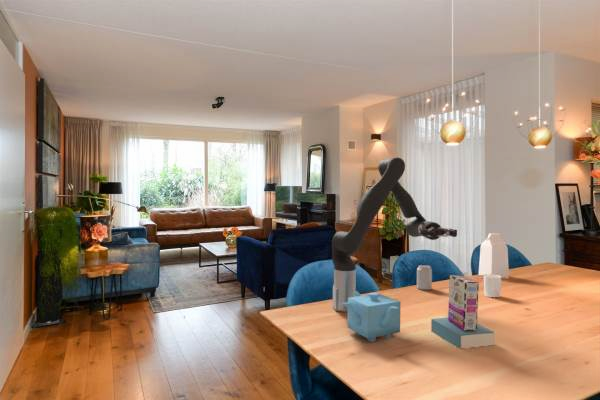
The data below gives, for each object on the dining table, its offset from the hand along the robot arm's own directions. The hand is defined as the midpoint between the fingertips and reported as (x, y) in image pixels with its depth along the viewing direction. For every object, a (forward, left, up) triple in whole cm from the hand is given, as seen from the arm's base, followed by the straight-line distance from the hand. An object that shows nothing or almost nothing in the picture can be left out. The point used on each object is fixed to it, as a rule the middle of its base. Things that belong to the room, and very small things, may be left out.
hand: (444, 234), depth 153 cm
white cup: (+41, +31, -34) cm, 62 cm away
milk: (+70, +72, -34) cm, 106 cm away
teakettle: (-34, -13, -34) cm, 50 cm away
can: (+14, +48, -34) cm, 61 cm away
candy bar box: (-4, -20, -30) cm, 36 cm away
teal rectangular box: (-3, -19, -34) cm, 39 cm away
